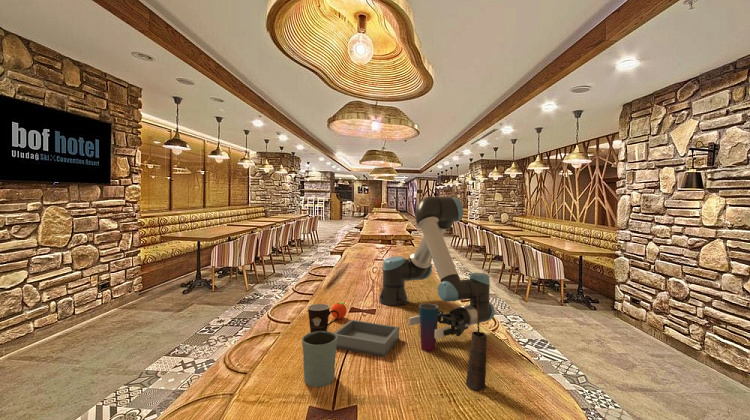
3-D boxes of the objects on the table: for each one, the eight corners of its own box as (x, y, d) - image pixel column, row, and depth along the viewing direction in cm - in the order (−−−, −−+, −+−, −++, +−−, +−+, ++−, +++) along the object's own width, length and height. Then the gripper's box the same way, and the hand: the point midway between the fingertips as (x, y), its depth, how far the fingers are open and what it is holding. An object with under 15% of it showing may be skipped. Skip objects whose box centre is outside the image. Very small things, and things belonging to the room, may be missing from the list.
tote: (351, 330, 126) (351, 319, 126) (398, 338, 118) (399, 327, 118) (331, 346, 111) (331, 334, 111) (384, 357, 103) (384, 343, 103)
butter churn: (500, 399, 81) (501, 292, 81) (462, 395, 83) (463, 290, 82) (492, 380, 90) (494, 284, 90) (458, 377, 92) (460, 282, 92)
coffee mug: (303, 333, 122) (303, 308, 122) (316, 326, 130) (317, 302, 130) (327, 339, 117) (327, 313, 117) (340, 331, 125) (340, 306, 125)
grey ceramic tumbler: (305, 391, 84) (305, 347, 83) (298, 373, 93) (298, 333, 93) (341, 383, 88) (341, 341, 88) (331, 366, 97) (332, 328, 97)
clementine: (346, 315, 144) (347, 299, 144) (350, 320, 138) (350, 304, 138) (329, 316, 142) (329, 301, 142) (332, 322, 135) (332, 305, 135)
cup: (426, 342, 115) (426, 302, 115) (441, 348, 111) (442, 306, 111) (414, 348, 111) (415, 305, 111) (430, 354, 106) (431, 310, 106)
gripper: (490, 337, 110) (448, 352, 98) (439, 316, 131) (399, 326, 119) (490, 316, 110) (448, 328, 98) (440, 299, 131) (400, 307, 119)
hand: (421, 327), depth 109 cm, fingers open, 13 cm apart
